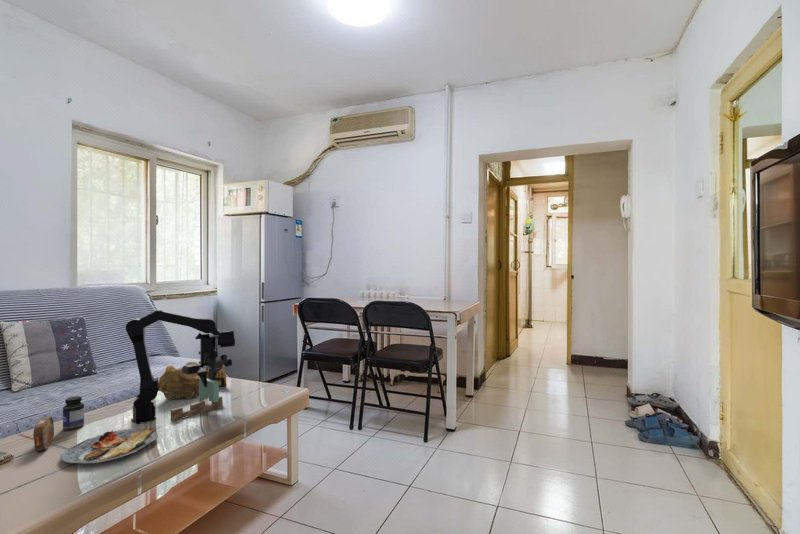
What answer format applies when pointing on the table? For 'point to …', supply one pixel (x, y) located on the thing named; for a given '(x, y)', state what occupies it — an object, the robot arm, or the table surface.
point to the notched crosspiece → (209, 390)
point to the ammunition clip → (220, 377)
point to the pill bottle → (73, 413)
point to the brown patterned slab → (43, 434)
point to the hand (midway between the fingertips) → (208, 386)
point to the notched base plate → (195, 409)
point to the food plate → (110, 445)
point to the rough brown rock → (179, 383)
